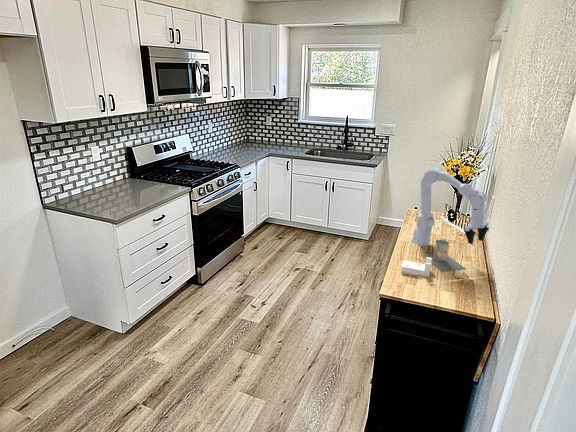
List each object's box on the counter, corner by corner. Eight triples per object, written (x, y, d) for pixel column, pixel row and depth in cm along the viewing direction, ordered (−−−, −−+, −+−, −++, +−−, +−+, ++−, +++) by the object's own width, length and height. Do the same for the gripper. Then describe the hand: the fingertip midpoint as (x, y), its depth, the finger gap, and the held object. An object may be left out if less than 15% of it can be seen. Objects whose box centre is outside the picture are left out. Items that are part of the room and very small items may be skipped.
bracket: (429, 271, 183) (432, 258, 180) (428, 278, 176) (431, 264, 174) (402, 266, 187) (404, 253, 185) (400, 272, 181) (402, 258, 179)
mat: (420, 255, 198) (420, 254, 198) (443, 253, 201) (443, 252, 201) (441, 273, 181) (441, 271, 181) (466, 270, 184) (466, 269, 184)
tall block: (433, 257, 195) (436, 239, 192) (440, 256, 196) (443, 239, 192) (438, 261, 191) (441, 243, 188) (445, 260, 192) (448, 242, 188)
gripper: (473, 220, 180) (472, 247, 184) (494, 215, 186) (492, 241, 189) (461, 217, 186) (460, 243, 190) (481, 212, 192) (480, 237, 196)
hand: (475, 241), depth 190 cm, fingers open, 7 cm apart
